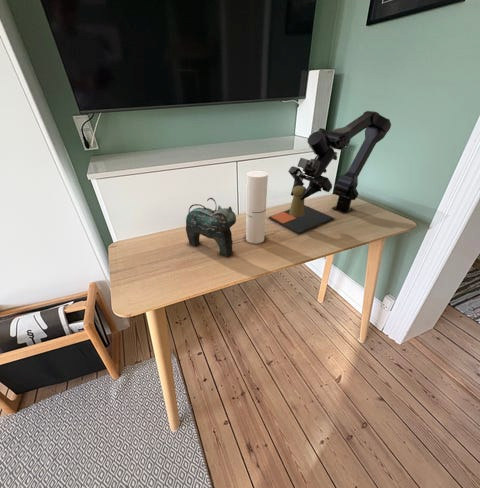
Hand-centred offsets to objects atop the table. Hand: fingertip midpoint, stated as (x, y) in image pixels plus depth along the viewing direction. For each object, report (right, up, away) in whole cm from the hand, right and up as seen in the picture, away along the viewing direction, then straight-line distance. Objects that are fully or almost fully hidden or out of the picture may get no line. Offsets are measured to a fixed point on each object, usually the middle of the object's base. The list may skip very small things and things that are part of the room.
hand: (296, 197), depth 100 cm
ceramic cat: (-33, -21, -4) cm, 39 cm away
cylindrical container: (-16, -16, +2) cm, 23 cm away
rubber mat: (+5, -5, +15) cm, 16 cm away
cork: (+1, -5, +5) cm, 7 cm away
